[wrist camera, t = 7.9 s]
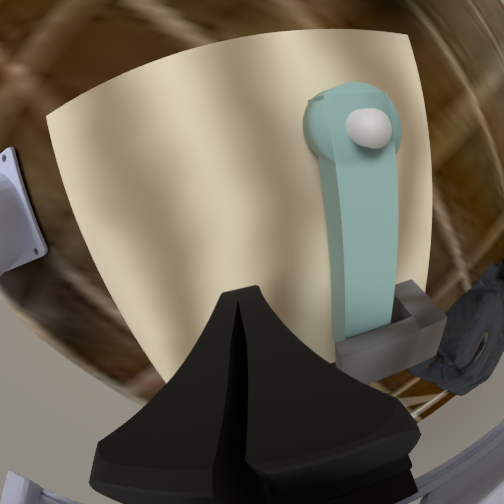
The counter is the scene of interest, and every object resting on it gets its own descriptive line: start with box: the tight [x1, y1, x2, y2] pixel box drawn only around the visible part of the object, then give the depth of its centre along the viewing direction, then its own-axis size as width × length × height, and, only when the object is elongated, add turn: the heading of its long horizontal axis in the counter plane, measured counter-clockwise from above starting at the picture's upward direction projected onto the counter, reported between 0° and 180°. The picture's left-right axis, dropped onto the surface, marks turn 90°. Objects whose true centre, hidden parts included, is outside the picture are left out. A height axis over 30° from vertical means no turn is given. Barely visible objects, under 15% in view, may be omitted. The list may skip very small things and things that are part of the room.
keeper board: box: [46, 29, 447, 385], centre depth 13 cm, size 21×22×6 cm
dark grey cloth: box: [407, 261, 504, 396], centre depth 21 cm, size 15×22×5 cm
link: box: [303, 82, 402, 343], centre depth 13 cm, size 16×4×3 cm, turn 12°
